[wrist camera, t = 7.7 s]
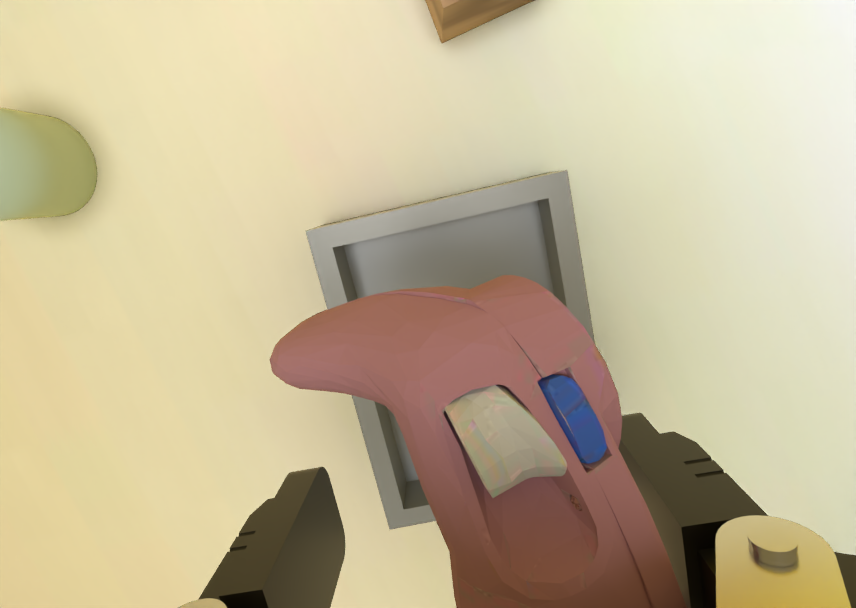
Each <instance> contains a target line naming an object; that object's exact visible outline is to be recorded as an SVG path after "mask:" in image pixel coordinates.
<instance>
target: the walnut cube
mask: <svg viewBox="0 0 856 608" xmlns="http://www.w3.org/2000/svg"><path fill="white" fill-rule="evenodd" d="M425 1H426V3H427V6H428V9H429V11H430V14H431V16H432V19H433V22H434V24H435V27H436V30H437V32H438V35H439V37H440V40H441V43H443V42H446V41H448V40H450V39H452V38H454V37H456V36H458V35H461V34H463V33H465V32H467V31H469V30H471V29H474V28H476V27H478V26H480V25H482V24H484V23H487V22H489V21H491V20H493V19H495V18H497V17H500V16H502V15H504V14H506V13H508V12H510V11H512V10H515V9H517V8H519V7H521V6H523V5H525V4H528V3H530V2H532V1H534V0H425Z"/></svg>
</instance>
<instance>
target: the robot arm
mask: <svg viewBox="0 0 856 608" xmlns="http://www.w3.org/2000/svg"><path fill="white" fill-rule="evenodd" d="M618 449H619V451H620V453H621V455H622V457H623V459H624V461H625V463H626V465H627V467H628V469H629V471H630V473H631V475H632V477H633V479H634V481H635V483H636V485H637V487H638V489H639V491H640V493H641V495H642V497H643V499H644V501H645V502H646V504H647V507H648V509H649V511H650V514H651V516H652V518H653V521H654V523H655V526H656V528H657V530H658V533H659V535H660V537H661V540H662V542H663V544H664V547H665V549H666V551H667V554H668V557H669V560H670V562H671V565H672V568H673V571H674V574H675V576H676V579H677V582H678V585H679V587H680V590H681V593H682V596H683V599H684V601H685V604H686V607H687V608H856V555H848V554H842V553H837V552H834V551H833V549H832V548H831V547H830V545H829V544H828V543H827V542H826V541H825V540H824V539H823V538H822V537H820V536H819V535H818V534H816V533H815V532H813V531H811V530H810V529H808V528H806V527H804V526H802V525H800V524H797V523H794V522H792V521H789V520H785V519H781V518H777V517H771V516H768V515H767V514H766V513H765V512H764V511H763V510H762V509H761V508H760V507H759V506H758V505H757V504H756V503H755V502H754V501H753V500H752V499H751V498H750V497H749V496H748V495H747V494H746V493H745V492H744V491H743V490H742V489H741V488H740V487H739V486H738V485H737V484H736V483H735V481H734V480H733V479H732V478H731V477H730V476H729V475H728V474H727V473H724V472H723V469H722V468H721V467H720V466H719V465H718V464H717V463H716V462H715V461H714V460H711V457H710V456H709V455H708V454H707V453H706V452H705V451H704V450H703V449H702V448H701V447H700V446H699V445H698V444H697V443H696V442H694V441H692V440H690V439H688V438H686V437H684V436H682V435H680V434H677V433H675V432H668V433H662V434H659V433H658V432H657V431H656V429H655V428H654V427H653V426H652V425H651V424H650V422H649V421H648V420H647V419H646V418H645V417H644V416H643V415H642V414H641V413H635V414H629V415H624V416H622V430H621V440H620V444H619V448H618ZM344 555H345V535H344V529H343V525H342V521H341V518H340V514H339V510H338V507H337V503H336V500H335V496H334V493H333V489H332V485H331V482H330V478H329V475H328V473H327V471H326V469H325V468H324V467H319V468H313V469H307V470H301V471H296V472H291V473H289V474H288V475H287V477H286V478H285V480H284V482H283V484H282V486H281V487H280V489H279V491H278V493H277V494H276V496H275V498H272V499H268V500H267V501H265V502H264V503H263V504H262V505H261V506H260V507H259V508H258V509H257V510H256V511H254V512H253V513H252V514H251V515H250V516H249V518H248V519H247V521H246V523H245V524H244V526H243V527H242V529H241V531H240V532H239V537H236V539H235V541H234V542H233V544H232V545H231V547H230V552H227V554H226V555H225V557H224V559H223V560H222V562H221V563H220V565H219V567H218V568H217V570H216V572H215V573H214V575H213V576H212V578H211V580H210V581H209V583H208V585H207V586H206V588H205V590H204V591H203V593H202V594H201V596H200V598H199V599H198V600H196V601H192V602H189V603H187V604H184V605H182V606H180V607H178V608H330V606H331V602H332V599H333V595H334V592H335V588H336V585H337V581H338V578H339V574H340V571H341V567H342V564H343V560H344Z"/></svg>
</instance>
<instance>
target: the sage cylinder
mask: <svg viewBox="0 0 856 608" xmlns="http://www.w3.org/2000/svg"><path fill="white" fill-rule="evenodd" d="M96 182H97V167H96V162H95V158H94V155H93V153H92V150H91V148H90V147H89V145H88V143H87V142H86V140H85V139H84V138H83V136H82V135H81V134H80V133H79V132H78V131H77V130H75V129H74V128H73V127H72V126H70V125H69V124H67V123H66V122H64V121H62V120H59V119H57V118H54V117H50V116H45V115H39V114H34V113H28V112H23V111H17V110H11V109H6V108H0V221H4V220H16V219H29V218H41V217H53V216H63V215H68V214H71V213H74V212H76V211H78V210H79V209H81V208H82V207H83V206H84V205H85V204H86V203H87V202H88V201H89V200H90V198H91V196H92V195H93V192H94V190H95V187H96Z"/></svg>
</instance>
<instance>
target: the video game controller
mask: <svg viewBox="0 0 856 608" xmlns="http://www.w3.org/2000/svg"><path fill="white" fill-rule="evenodd" d="M270 363H271V368H272V371H273V373H274V374H275V375H276V376H277V377H279V378H280V379H281V380H283V381H284V382H285V383H287V384H289V385H291V386H294V387H297V388H299V389H309V390H320V391H330V392H338V393H345V394H349V395H353V396H357V397H361V398H365V399H368V400H372V401H375V402H377V403H380V404H382V405H384V406H386V407H387V408H388V409H389V410H390V411H391V412H392V413H393V414H394V416H395V418H396V420H397V423H398V425H399V427H400V430H401V432H402V434H403V437H404V440H405V442H406V445H407V448H408V451H409V453H410V456H411V459H412V462H413V465H414V467H415V470H416V473H417V476H418V478H419V481H420V484H421V487H422V489H423V491H424V494H425V496H426V498H427V501H428V503H429V505H430V507H431V510H432V512H433V514H434V517H435V519H436V521H437V524H438V526H439V528H440V530H441V533H442V535H443V537H444V540H445V542H446V544H447V546H448V549H449V551H450V560H451V570H452V579H453V588H454V597H455V601H456V606H457V608H687V607H686V604H685V601H684V599H683V596H682V593H681V590H680V587H679V585H678V582H677V579H676V576H675V574H674V571H673V568H672V565H671V562H670V560H669V557H668V554H667V551H666V549H665V547H664V544H663V542H662V540H661V537H660V535H659V533H658V530H657V528H656V526H655V523H654V521H653V518H652V516H651V514H650V511H649V509H648V507H647V504H646V502H645V501H644V499H643V497H642V495H641V493H640V491H639V489H638V487H637V485H636V483H635V481H634V479H633V477H632V475H631V473H630V471H629V469H628V467H627V465H626V463H625V461H624V459H623V457H622V455H621V453H620V451H619V449H618V448H619V444H620V440H621V430H622V415H621V409H620V403H619V397H618V392H617V390H616V387H615V385H614V382H613V380H612V378H611V375H610V373H609V370H608V368H607V365H606V363H605V361H604V359H603V357H602V356H601V354H600V352H599V351H598V349H597V347H596V346H595V344H594V342H593V341H592V339H591V338H590V336H589V334H588V333H587V331H586V329H585V328H584V326H583V325H582V324H581V323H580V322H579V321H578V320H577V318H576V317H575V316H574V315H573V314H572V313H571V312H570V311H569V309H568V308H567V307H566V306H565V305H564V304H563V303H562V302H561V301H560V300H559V299H558V298H557V297H555V296H554V295H553V294H552V293H551V292H550V291H548V290H547V289H545V288H544V287H542V286H541V285H539V284H538V283H536V282H534V281H532V280H529V279H527V278H524V277H520V276H515V275H502V276H500V277H497V278H495V279H493V280H490V281H488V282H485V283H483V284H481V285H478V286H476V287H474V288H471V289H467V288H458V287H450V286H440V287H426V288H412V289H400V290H394V291H389V292H383V293H378V294H374V295H370V296H366V297H363V298H359V299H356V300H353V301H350V302H347V303H344V304H342V305H339V306H336V307H333V308H331V309H328V310H325V311H322V312H320V313H317V314H316V315H314V316H312V317H310V318H308V319H306V320H305V321H303V322H301V323H300V324H299V325H297V326H296V327H295V328H294V329H292V330H291V331H290V332H289V333H288V334H286V335H285V336H284V337H283V338H281V339H280V341H279V342H278V343H277V344H276V345H275V347H274V350H273V353H272V355H271V358H270Z"/></svg>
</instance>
